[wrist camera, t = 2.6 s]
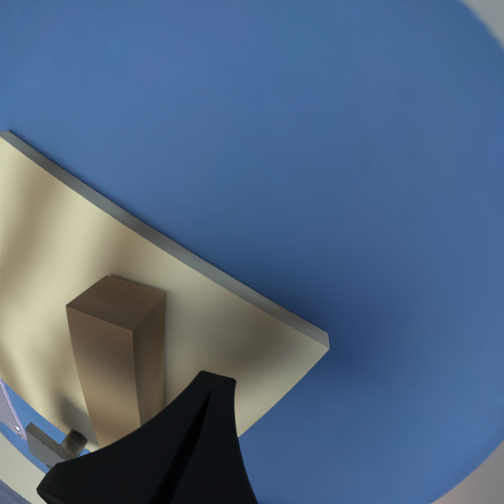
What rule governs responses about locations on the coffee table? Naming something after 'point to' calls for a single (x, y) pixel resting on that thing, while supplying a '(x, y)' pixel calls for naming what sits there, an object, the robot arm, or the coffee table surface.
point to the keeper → (54, 446)
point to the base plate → (134, 271)
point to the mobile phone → (9, 413)
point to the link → (119, 354)
